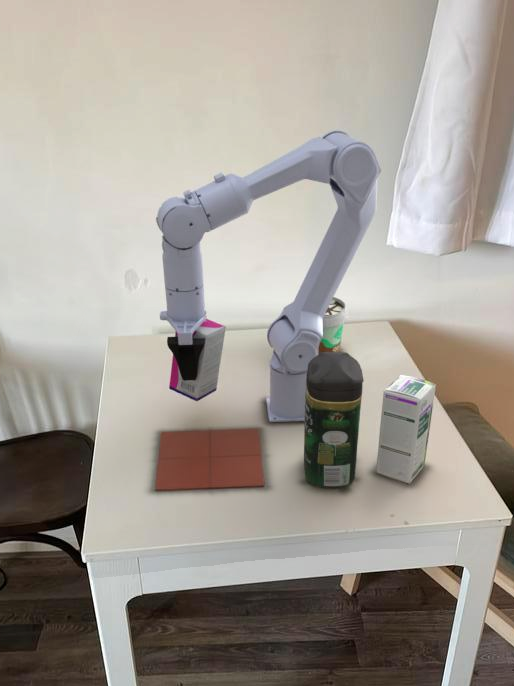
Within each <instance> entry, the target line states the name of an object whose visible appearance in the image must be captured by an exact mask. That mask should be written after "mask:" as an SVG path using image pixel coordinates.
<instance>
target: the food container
mask: <svg viewBox="0 0 514 686" xmlns="http://www.w3.org/2000/svg"><path fill="white" fill-rule="evenodd" d="M348 314H349V313H348V308H347V306H346V303H345V302H344V301H343V300H342V299H340V298H338V297H335V296H334V297H333V299H332V301H331V303H330V305H329V307H328V309H327V311H326V313H325V315H324V317H323V337H322V339H321V341H320V344H319V349H318V355H319V354H320V353H321V352H341V351H340V349H341V344H342V337H343V331H344V330H343V329H344V323H345V322H346V321H347V320H348V317H349V315H348Z"/></svg>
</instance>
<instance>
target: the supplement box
mask: <svg viewBox="0 0 514 686" xmlns="http://www.w3.org/2000/svg"><path fill="white" fill-rule="evenodd" d="M226 329H227V327H226V325H223V324H221V323H218V322H217V321H213V320H211V319H208V318H206V320H205V321H204V322H203V323H202V324H201V325H200V326H199V327H198V328H197V329H196V330H195V331H194V333H193V334H192V336H193V337H194V338H205V345H204V348H203V349H202V351H201V354H200V357H199V363H198V372H197V378H196V380H186V381H183V379H182V377H181V374H180V371H179V367H178V364H177V361H176V359H175V357H174V355H173V354H172V360H171V361H172V362H171V369H170V377H169V384H168V385H169V386H168V389H169V390H171V391H173V392H175V393H177V394H179V395H182V396H184V397H186V398H188V399H190V400H192V401H194V402H199V401H201V400H202V399H204V398H206V397H208V396H209V395H211V394H214V393H215V392H216V391H217V389H218V381H219V374H220V367H221V361H222V354H223V349H224V342H225V336H226V335H225V333H226ZM174 337H178V334H177V332H176V331H175V333H174Z"/></svg>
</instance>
